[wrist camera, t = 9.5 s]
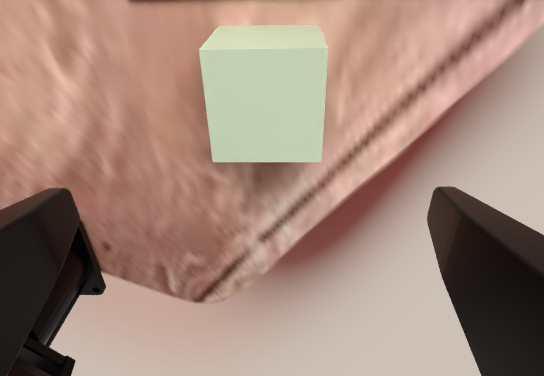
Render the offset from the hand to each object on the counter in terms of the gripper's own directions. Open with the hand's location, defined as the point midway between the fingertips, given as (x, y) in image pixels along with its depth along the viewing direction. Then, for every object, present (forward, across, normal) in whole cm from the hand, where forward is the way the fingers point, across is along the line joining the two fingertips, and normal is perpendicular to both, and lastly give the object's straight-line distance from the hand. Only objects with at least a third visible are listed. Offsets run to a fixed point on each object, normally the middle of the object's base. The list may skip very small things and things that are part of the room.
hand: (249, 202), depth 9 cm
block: (+10, 0, 0) cm, 11 cm away
